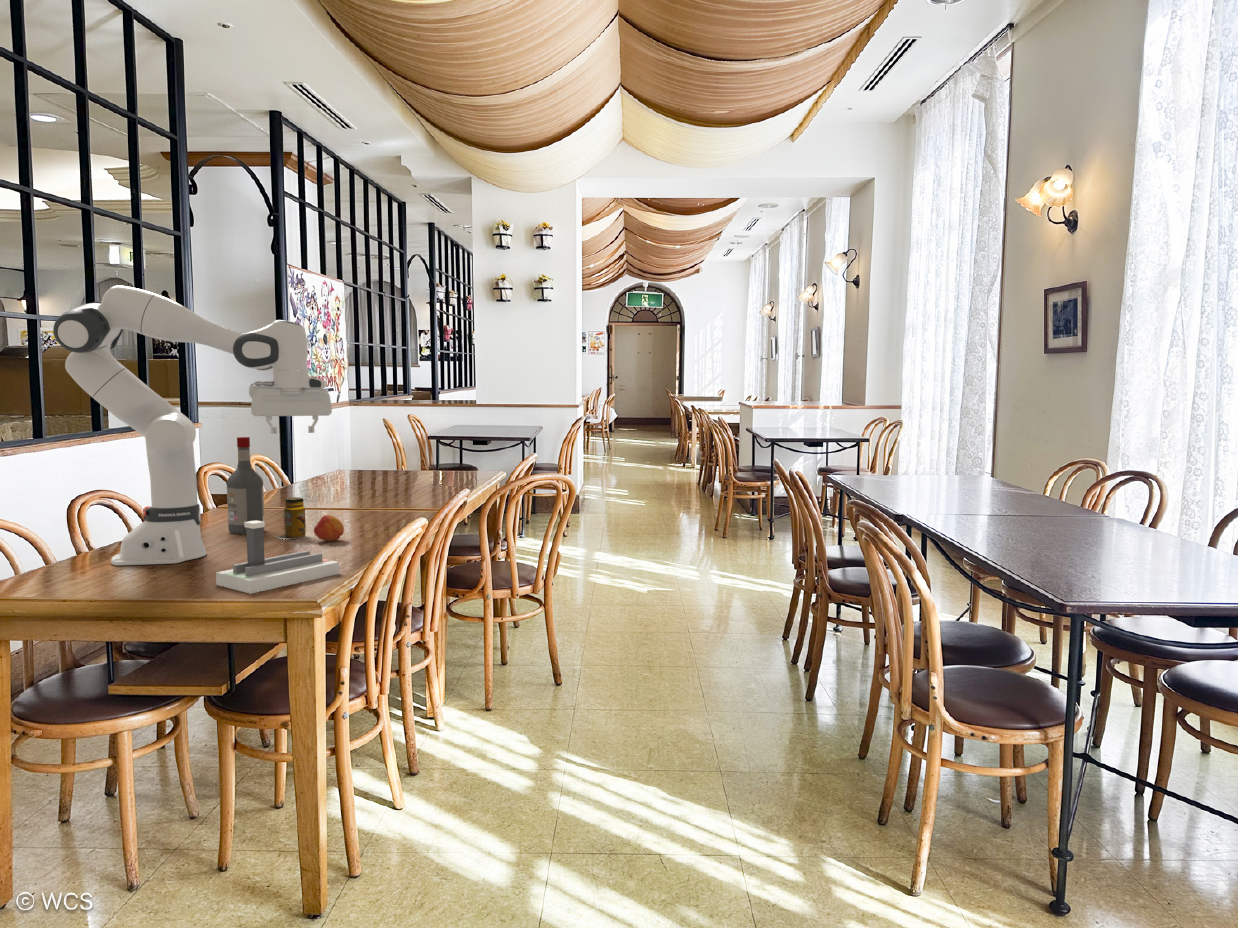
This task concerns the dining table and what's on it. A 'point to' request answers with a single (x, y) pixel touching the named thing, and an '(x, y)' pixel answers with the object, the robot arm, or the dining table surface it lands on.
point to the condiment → (294, 519)
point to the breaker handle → (255, 542)
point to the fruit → (329, 528)
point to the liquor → (244, 491)
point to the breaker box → (277, 572)
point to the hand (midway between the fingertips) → (292, 433)
